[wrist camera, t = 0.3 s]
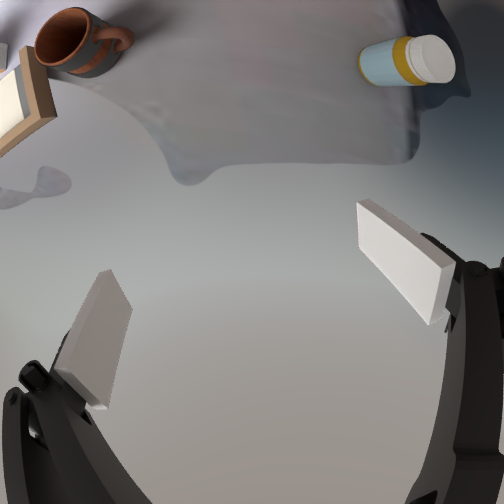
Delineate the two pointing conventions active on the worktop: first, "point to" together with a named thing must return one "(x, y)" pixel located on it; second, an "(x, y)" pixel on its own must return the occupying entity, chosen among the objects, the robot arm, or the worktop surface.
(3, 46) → the small box
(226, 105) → the worktop surface
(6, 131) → the brown piece
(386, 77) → the bottle
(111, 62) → the mug
